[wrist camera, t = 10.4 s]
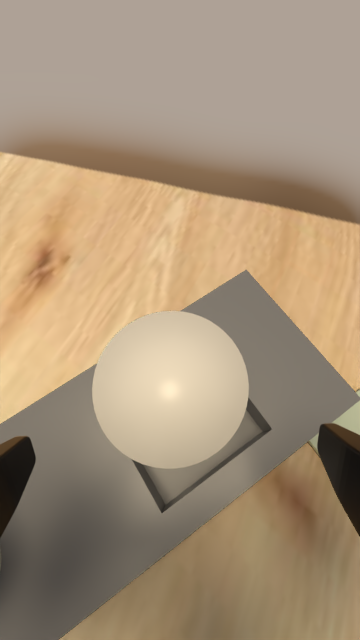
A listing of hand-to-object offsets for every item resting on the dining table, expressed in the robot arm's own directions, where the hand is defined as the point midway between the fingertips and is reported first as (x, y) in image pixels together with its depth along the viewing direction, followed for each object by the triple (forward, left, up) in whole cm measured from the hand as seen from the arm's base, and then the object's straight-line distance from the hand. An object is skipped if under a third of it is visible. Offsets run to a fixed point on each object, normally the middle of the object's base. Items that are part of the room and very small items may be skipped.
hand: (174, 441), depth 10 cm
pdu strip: (+1, +3, -10) cm, 11 cm away
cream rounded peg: (+1, -1, -10) cm, 10 cm away
